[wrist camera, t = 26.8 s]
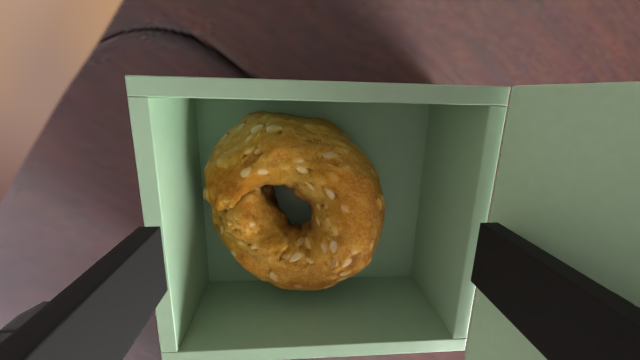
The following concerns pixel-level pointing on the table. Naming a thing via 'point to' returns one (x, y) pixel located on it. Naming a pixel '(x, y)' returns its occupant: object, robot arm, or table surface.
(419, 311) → the box
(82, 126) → the table surface
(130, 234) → the robot arm
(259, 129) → the bagel
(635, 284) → the lunchbox lid
